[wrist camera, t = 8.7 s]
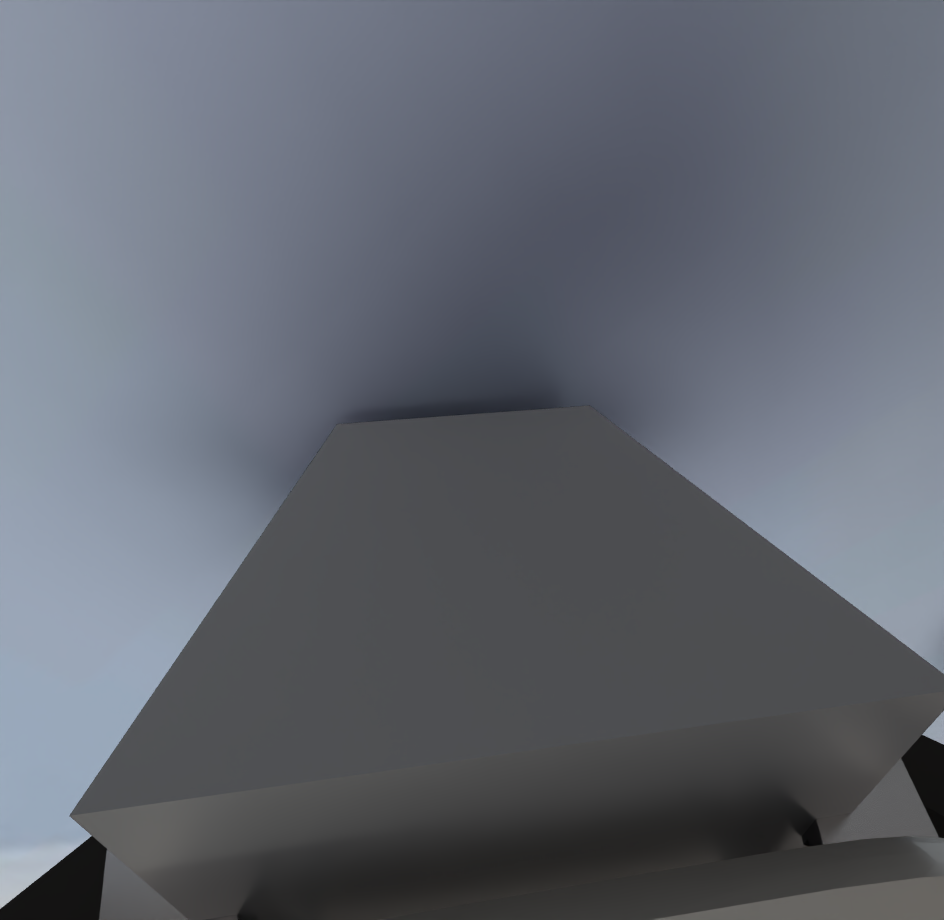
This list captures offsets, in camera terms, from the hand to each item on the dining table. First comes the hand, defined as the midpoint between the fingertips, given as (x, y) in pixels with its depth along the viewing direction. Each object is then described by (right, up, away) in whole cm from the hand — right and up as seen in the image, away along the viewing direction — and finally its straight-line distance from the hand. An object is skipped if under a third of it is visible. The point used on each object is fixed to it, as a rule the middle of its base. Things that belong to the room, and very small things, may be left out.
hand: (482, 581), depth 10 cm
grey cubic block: (0, +1, +3) cm, 3 cm away
